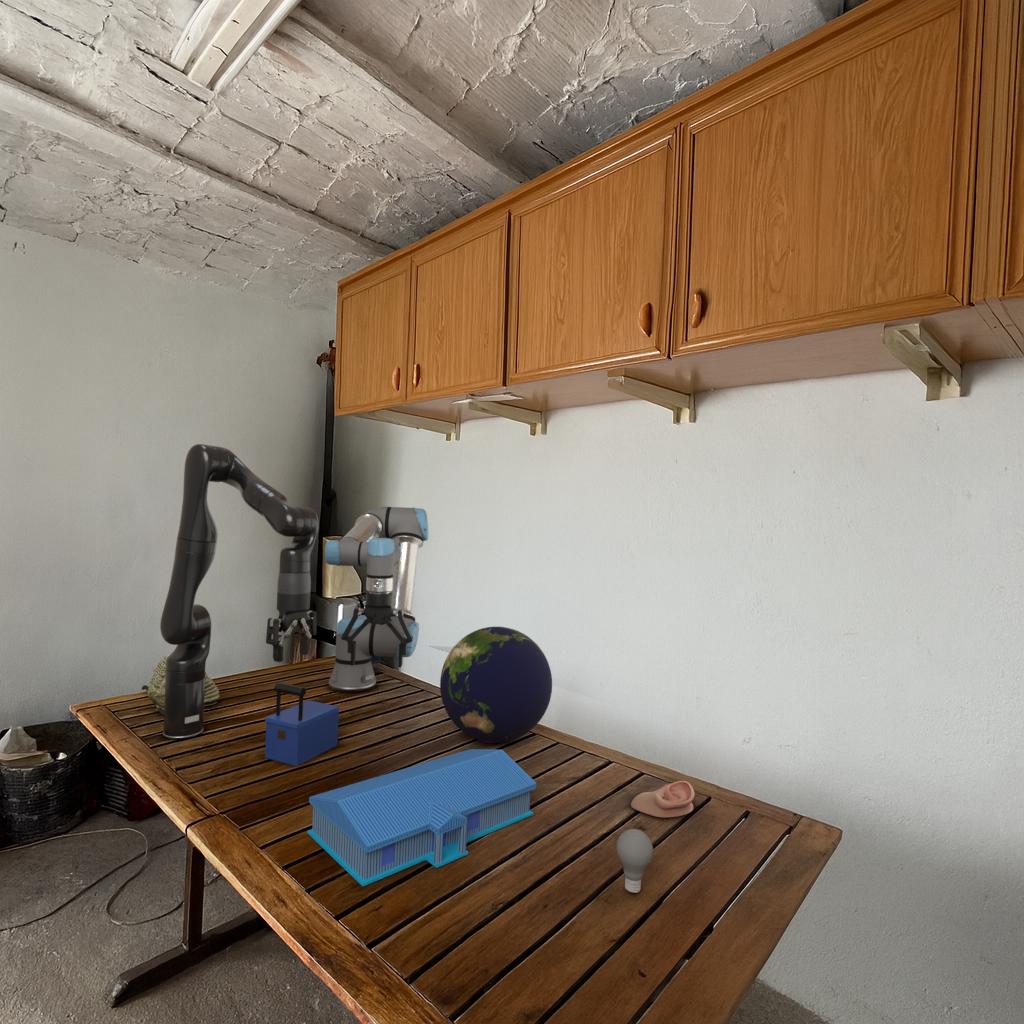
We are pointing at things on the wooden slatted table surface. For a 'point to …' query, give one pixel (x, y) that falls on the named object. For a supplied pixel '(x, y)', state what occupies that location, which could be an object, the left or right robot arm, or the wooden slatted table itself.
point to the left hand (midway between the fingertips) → (291, 657)
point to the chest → (301, 740)
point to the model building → (420, 812)
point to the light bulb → (634, 857)
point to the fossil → (158, 687)
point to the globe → (496, 684)
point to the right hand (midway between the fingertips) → (376, 665)
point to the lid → (298, 708)
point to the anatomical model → (666, 800)
